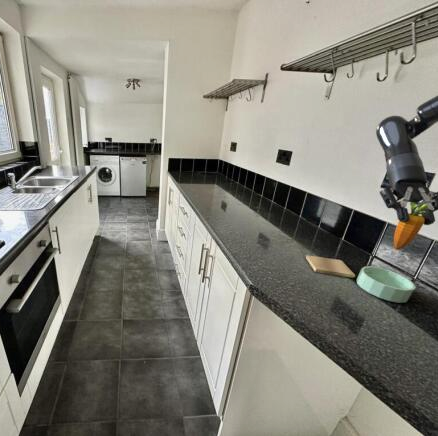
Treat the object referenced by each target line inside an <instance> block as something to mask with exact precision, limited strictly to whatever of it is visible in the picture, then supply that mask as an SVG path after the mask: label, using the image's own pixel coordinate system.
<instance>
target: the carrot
mask: <svg viewBox="0 0 438 436" xmlns="http://www.w3.org/2000/svg"><path fill="white" fill-rule="evenodd" d="M409 204H410V213H409V212H408V214H409V221H407V222H405V223H403V222H400V220H398V222H397V225H396V227H395V231H394V234H393V245H394V249H395V250H396V251H398V250H401V249H404V248H405V247H407V246H408V245H409V244H410V243H411V242H412V241H413V240H414V239H415V238H416V236H417V235H418V233H419V232H420V231H421V229H422V227H423V226H424V220H425V219H424V217H422V215H421V214H423V213H426V211H422V210H424V209H425V208H427V207H428V205H427V204H424V205H422V206H421V207H419V208H418V205H414V203H413V202H409ZM421 211H422V212H421Z"/></svg>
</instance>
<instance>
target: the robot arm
mask: <svg viewBox="0 0 438 436" xmlns="http://www.w3.org/2000/svg"><path fill="white" fill-rule="evenodd" d="M415 112H416V115H415V116H414V117H413V118H412V119H410V120H409V121H408V120H407V119H406V118H404V117H403V116H400V115H390V116H387V117H385V118H384V119H382V120H380V122H379V123H378V124H377V125H376V128H375V135H376V138H377V140H378V142H379V145H380V147H381V148H382V150H383V153H384V158H385V163H386V167H385V169H386V175H387V179H388V184H389V186H386V187H384V188H383V189H381V190H380V191H379V195H380V196H381V198H382V200H383V203H384V204H385V207H386V208H387V209H393V210H394V211H395V212H396V217H397V220H398V221H399V220H400V222H403V223H405V222H407V221H409V214H408V213H409V210H408V208H407V205H408V203H411V202H413V203H414V205H418V207H417V209H418V208H419V207H421V206H422V205H424V204H427V205H428V207H427V208H425V209H424V210H422V211H426V213H423V214H420V216H422V217H424V219H425V220H424V224H423V226H430V225H432V224H434V223H435V222H436V216H435V213H434V212H436V211H438V191H432V190H430V189H429V188H428V186H427V183H428V177H427V174H426V171H425V167H424V163H423V160H422V159H421V156H420V153H419V149H418V147H417V144H416V143H415V142H414V140H413V139H415V138H417V137H418V136H420V135H421V134H422V133H424V132H426V131H427V130H429V129H430V128H431V127H432V126H434V125H435V124H437V123H438V94H437V95H436V96H434V97H432V98H430V99H429V100H427V101H425V102H423V103H421V104H420V105H418V106H417V108H416V111H415ZM422 211H420V212H422Z"/></svg>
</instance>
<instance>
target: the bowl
mask: <svg viewBox="0 0 438 436" xmlns="http://www.w3.org/2000/svg"><path fill="white" fill-rule="evenodd" d="M356 284H357V285H358V286H359V287H360V288H361V289H362V290H364V291H365V292H367V293H368V294H370V295H373V296H374V297H377V298H379V299H382V300H385V301H387V302H393V303H399V304H401V303H407V302H408V301H409V300H410V298H411V297H412V295H413V294H414V292H415V290H416V288H417V286H416V285H415V283H414V282H413V281H412V280H410V279H409V278H408V277H405V276H404V275H402V274H400V273H398V272H395V271H392V270H390V269H386V268H382V267H379V266H374V265H373V266H372V265H369V266H366V265H365V266H363V267H362V268H361V269H360V271H359V273H358V275H357V278H356Z"/></svg>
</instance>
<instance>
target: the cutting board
mask: <svg viewBox="0 0 438 436" xmlns="http://www.w3.org/2000/svg"><path fill="white" fill-rule="evenodd" d="M305 259H306V261H307V263H308V264H309V265H310V267H311V268H312V269H313V271H314V272H315V273H321V274H327V275H334V276H339V277H344V278H345V277H346V278H352V279H354V278H355V277H356V274H355V273H354V272H353V271H352V270H351V269H350V268H349V267H348V266H347V264H345V263H344V261H343V260H341V259H335V258H329V257H323V256H322V257H321V256H314V255H309V254H306V255H305Z"/></svg>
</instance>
